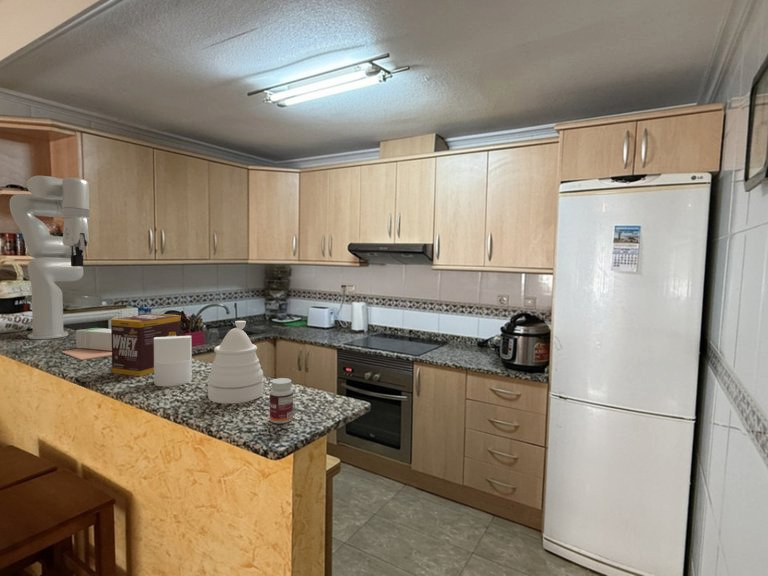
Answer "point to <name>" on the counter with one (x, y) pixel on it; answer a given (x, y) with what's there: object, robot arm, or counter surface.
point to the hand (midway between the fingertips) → (77, 266)
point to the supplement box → (139, 341)
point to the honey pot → (235, 369)
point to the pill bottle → (281, 401)
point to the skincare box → (94, 339)
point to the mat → (87, 353)
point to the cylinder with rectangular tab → (172, 360)
